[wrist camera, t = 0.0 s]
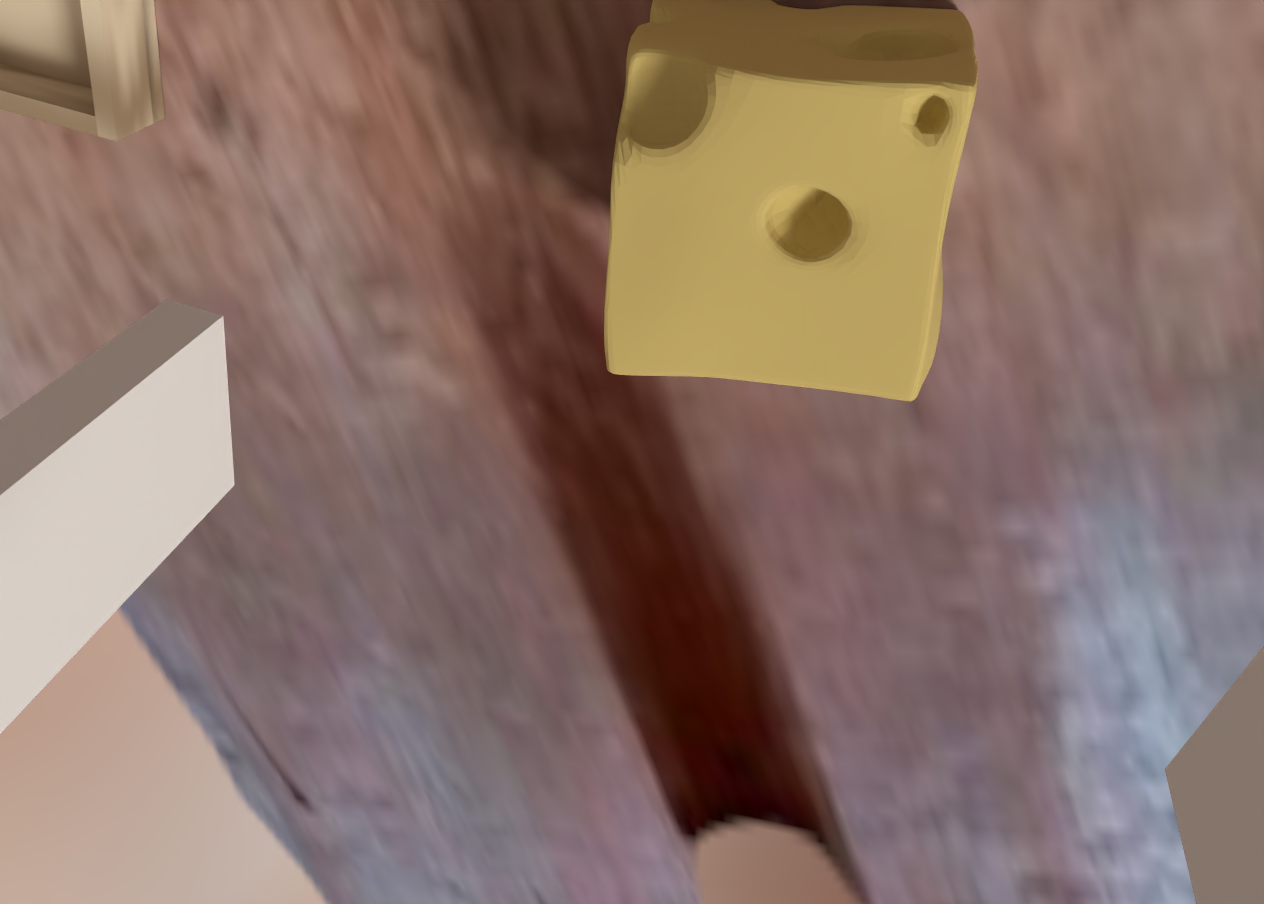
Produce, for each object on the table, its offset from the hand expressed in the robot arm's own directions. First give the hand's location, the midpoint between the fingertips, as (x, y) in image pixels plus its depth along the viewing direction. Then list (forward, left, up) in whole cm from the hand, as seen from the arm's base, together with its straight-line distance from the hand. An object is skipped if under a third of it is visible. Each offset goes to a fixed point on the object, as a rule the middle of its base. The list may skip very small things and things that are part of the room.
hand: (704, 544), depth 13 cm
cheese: (+4, 0, -28) cm, 29 cm away
